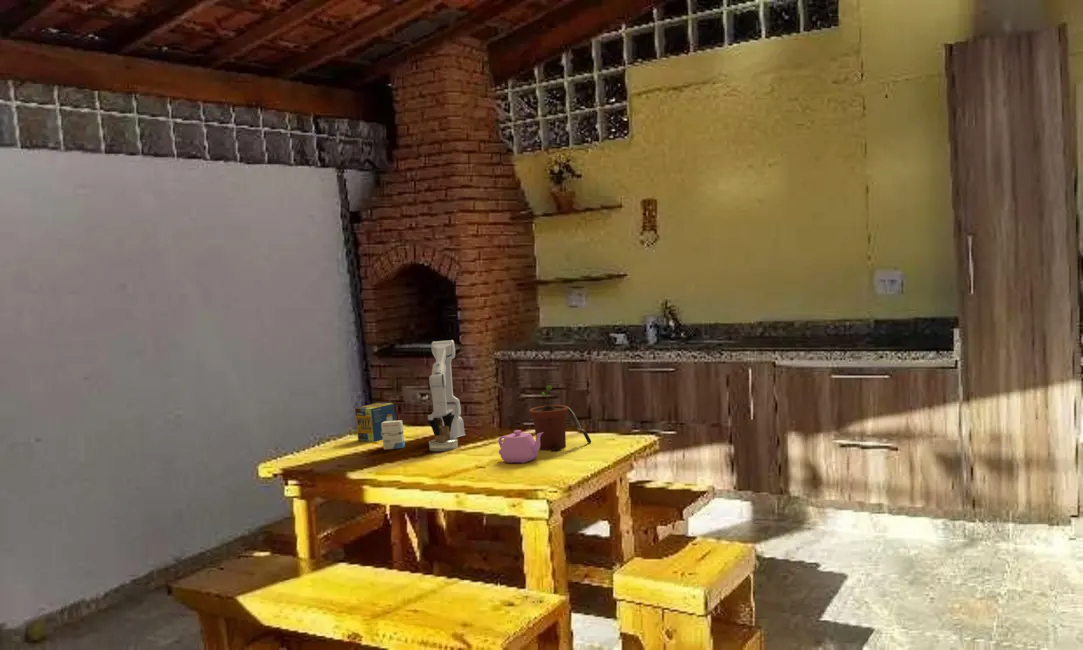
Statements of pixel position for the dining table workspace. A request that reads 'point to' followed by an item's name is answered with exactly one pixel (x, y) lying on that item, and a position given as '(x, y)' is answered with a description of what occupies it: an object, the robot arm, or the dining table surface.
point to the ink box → (393, 434)
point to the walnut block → (443, 434)
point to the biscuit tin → (443, 445)
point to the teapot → (519, 447)
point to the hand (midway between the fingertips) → (442, 433)
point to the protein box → (373, 420)
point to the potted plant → (552, 425)
